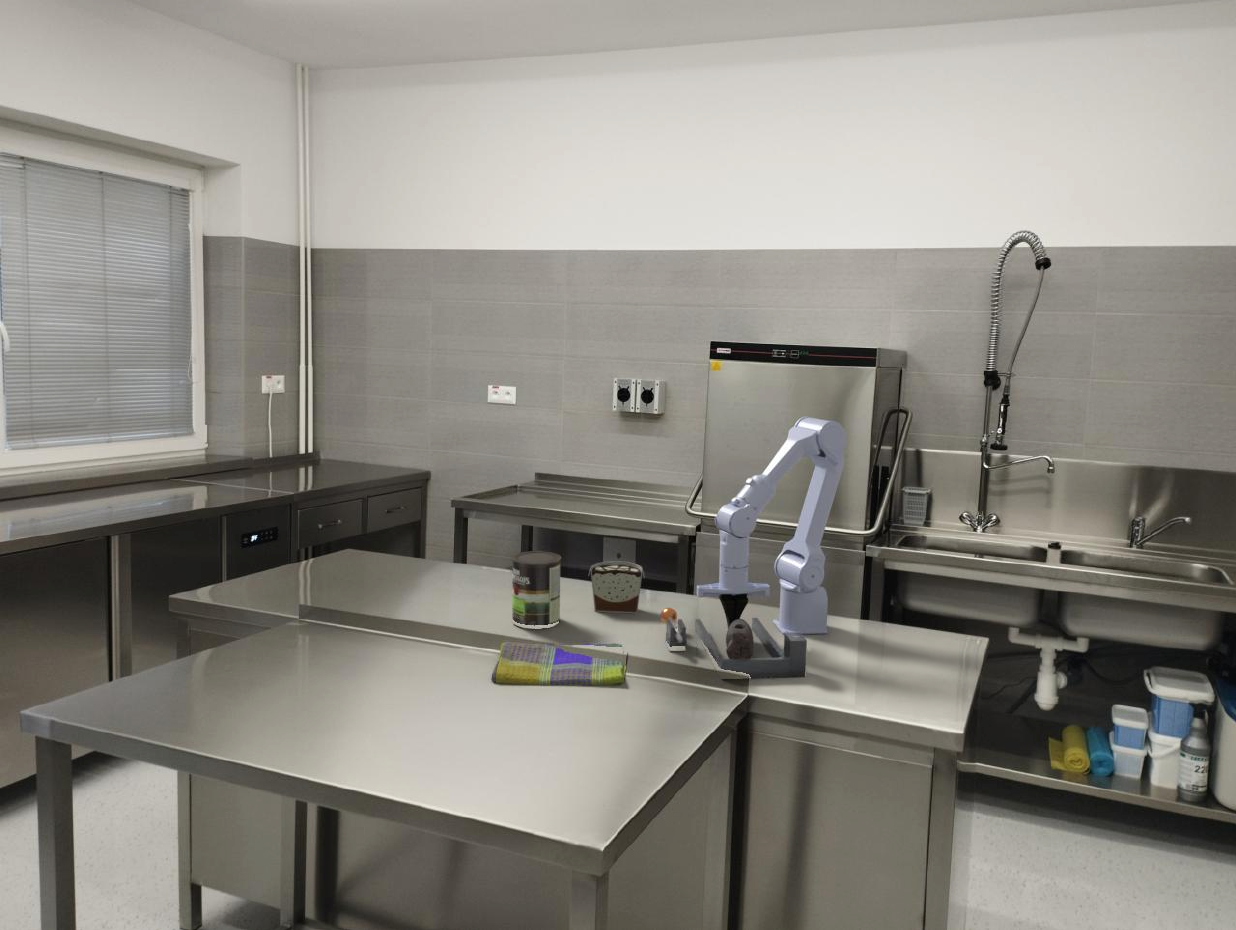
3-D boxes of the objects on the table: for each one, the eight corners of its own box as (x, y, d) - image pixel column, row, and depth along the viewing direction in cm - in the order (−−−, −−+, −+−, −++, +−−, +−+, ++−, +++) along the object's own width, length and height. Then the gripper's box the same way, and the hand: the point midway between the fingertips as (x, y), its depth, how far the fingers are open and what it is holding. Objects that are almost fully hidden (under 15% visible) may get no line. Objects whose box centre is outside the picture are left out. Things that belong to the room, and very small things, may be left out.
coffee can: (528, 633, 193) (528, 566, 191) (502, 619, 201) (502, 555, 199) (570, 623, 199) (570, 558, 197) (543, 610, 207) (543, 548, 205)
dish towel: (623, 691, 166) (623, 676, 166) (486, 686, 167) (485, 671, 167) (628, 655, 183) (628, 641, 183) (503, 651, 185) (503, 637, 184)
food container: (646, 604, 212) (646, 561, 211) (644, 613, 206) (644, 569, 204) (591, 602, 213) (591, 559, 212) (588, 611, 207) (588, 567, 206)
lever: (675, 621, 197) (675, 605, 196) (689, 648, 181) (689, 631, 180) (659, 621, 196) (659, 605, 196) (671, 649, 180) (672, 632, 180)
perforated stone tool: (726, 641, 190) (727, 608, 189) (752, 643, 189) (754, 609, 188) (724, 669, 175) (725, 633, 174) (753, 671, 174) (754, 635, 173)
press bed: (768, 629, 197) (769, 596, 196) (805, 677, 172) (806, 640, 170) (660, 631, 195) (661, 598, 194) (682, 680, 169) (682, 643, 168)
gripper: (764, 558, 193) (762, 622, 195) (694, 560, 192) (693, 624, 194) (773, 568, 186) (771, 634, 188) (700, 569, 185) (699, 636, 187)
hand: (732, 629), depth 191 cm, fingers closed
